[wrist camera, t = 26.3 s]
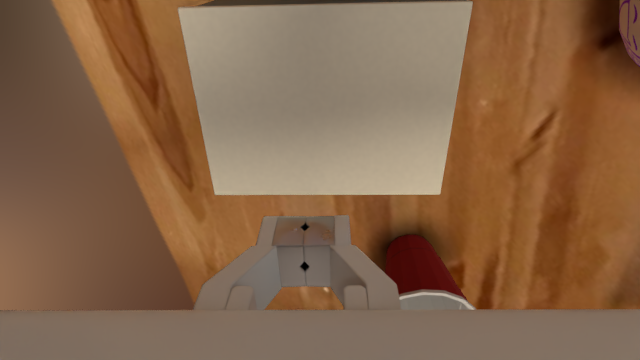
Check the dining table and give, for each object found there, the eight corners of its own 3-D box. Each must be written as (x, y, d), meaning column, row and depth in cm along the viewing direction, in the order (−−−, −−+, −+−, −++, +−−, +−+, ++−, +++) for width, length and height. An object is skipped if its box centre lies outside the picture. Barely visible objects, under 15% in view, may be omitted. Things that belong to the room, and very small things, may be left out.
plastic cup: (350, 242, 48) (354, 320, 38) (425, 204, 45) (453, 277, 34) (391, 291, 52) (406, 373, 42) (463, 260, 49) (498, 340, 39)
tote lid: (217, 190, 27) (214, 195, 27) (181, 6, 21) (177, 7, 20) (437, 189, 27) (440, 194, 26) (469, 0, 20) (473, 1, 20)
